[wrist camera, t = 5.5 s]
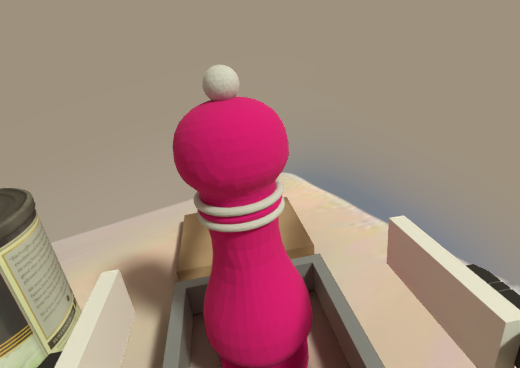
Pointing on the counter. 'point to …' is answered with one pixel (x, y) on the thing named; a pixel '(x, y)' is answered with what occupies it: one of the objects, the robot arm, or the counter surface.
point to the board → (201, 254)
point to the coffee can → (30, 287)
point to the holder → (315, 277)
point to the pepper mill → (244, 227)
